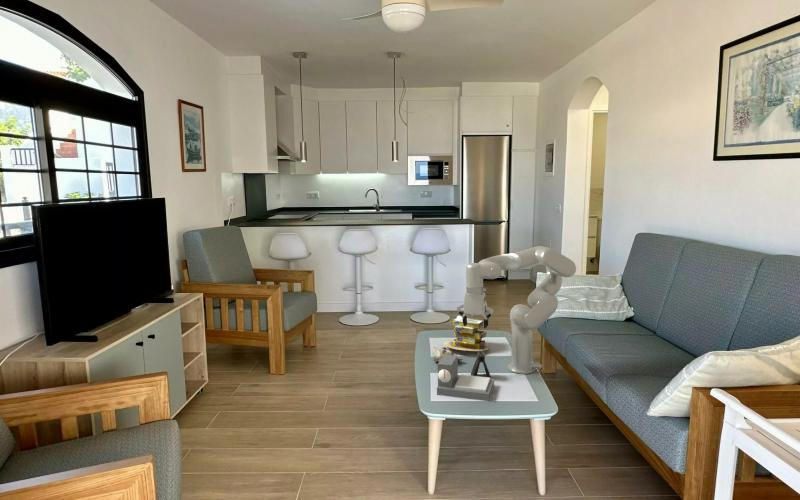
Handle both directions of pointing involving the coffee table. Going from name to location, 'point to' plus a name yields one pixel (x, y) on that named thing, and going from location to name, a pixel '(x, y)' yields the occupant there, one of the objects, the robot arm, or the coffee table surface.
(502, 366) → the coffee table surface
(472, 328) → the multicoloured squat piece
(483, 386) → the grey bracket with tile
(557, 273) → the robot arm
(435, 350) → the ceramic sculpture
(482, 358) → the phone stand
